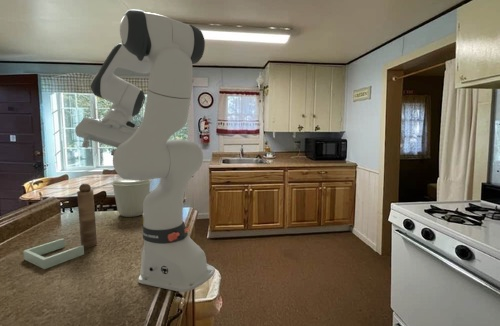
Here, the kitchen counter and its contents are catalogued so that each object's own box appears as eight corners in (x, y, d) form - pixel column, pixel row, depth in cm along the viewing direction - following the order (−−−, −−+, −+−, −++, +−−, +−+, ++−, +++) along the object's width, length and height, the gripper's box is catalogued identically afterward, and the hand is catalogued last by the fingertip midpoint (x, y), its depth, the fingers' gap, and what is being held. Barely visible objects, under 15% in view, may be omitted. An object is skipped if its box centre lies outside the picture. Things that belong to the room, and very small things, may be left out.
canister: (140, 220, 131) (138, 175, 128) (105, 218, 134) (102, 174, 131) (159, 209, 149) (157, 169, 146) (127, 208, 152) (125, 169, 149)
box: (84, 254, 96) (83, 245, 96) (44, 269, 86) (43, 259, 85) (63, 246, 102) (62, 238, 102) (24, 259, 92) (23, 250, 92)
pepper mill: (99, 243, 105) (95, 182, 102) (86, 248, 101) (81, 185, 98) (91, 240, 107) (87, 181, 105) (78, 245, 103) (73, 183, 100)
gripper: (84, 109, 103) (65, 134, 93) (142, 127, 107) (129, 153, 98) (85, 122, 107) (67, 147, 97) (140, 138, 112) (128, 164, 102)
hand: (99, 150), depth 98 cm, fingers open, 8 cm apart
